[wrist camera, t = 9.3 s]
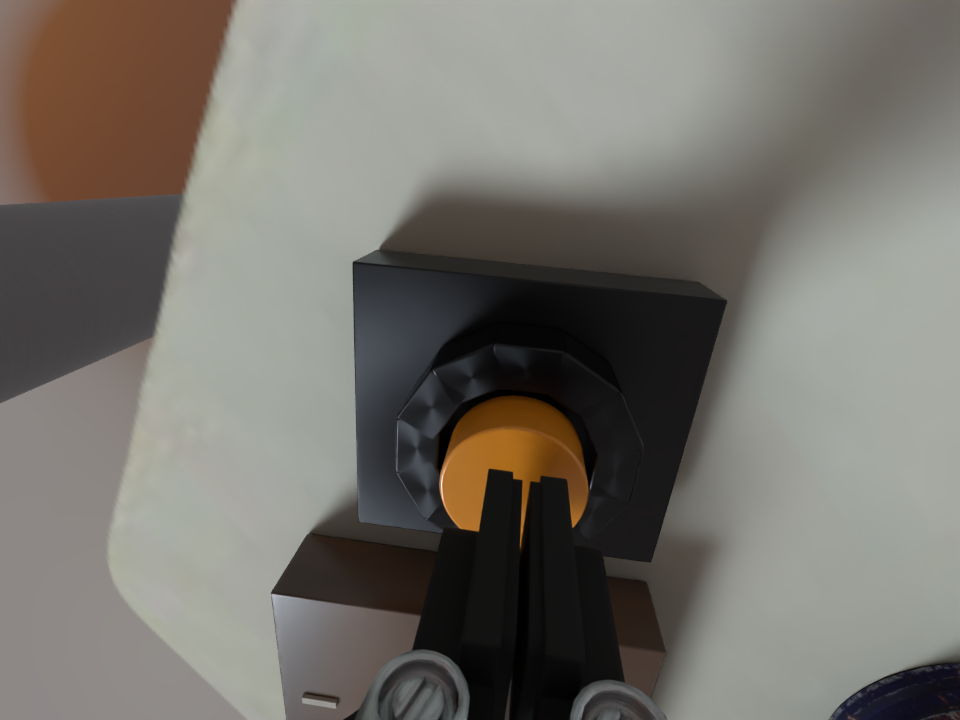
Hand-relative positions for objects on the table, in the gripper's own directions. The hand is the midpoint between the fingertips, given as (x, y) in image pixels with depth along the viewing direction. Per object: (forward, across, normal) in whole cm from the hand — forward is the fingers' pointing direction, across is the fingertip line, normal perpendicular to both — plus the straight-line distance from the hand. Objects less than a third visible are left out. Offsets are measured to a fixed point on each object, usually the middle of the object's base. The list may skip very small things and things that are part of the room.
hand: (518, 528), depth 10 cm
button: (+3, 0, 0) cm, 3 cm away
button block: (+6, 0, 0) cm, 7 cm away
